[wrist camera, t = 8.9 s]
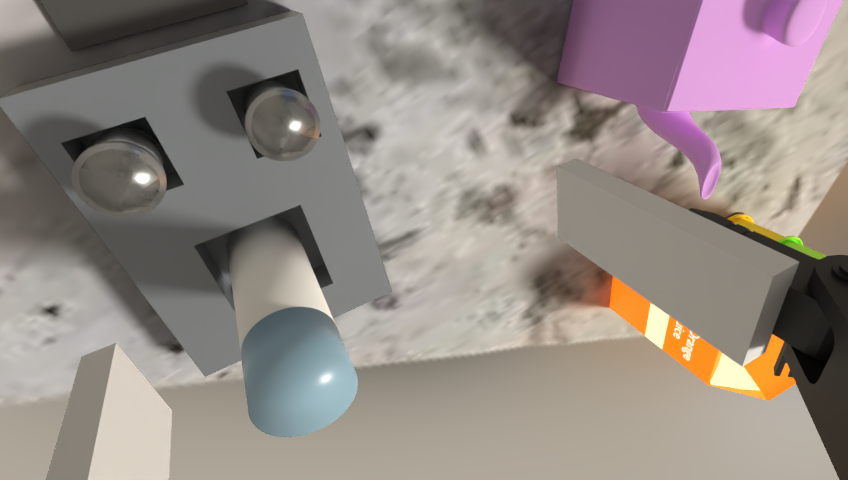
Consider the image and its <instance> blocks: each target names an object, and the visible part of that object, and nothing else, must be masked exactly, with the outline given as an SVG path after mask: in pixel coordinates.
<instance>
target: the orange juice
mask: <svg viewBox="0 0 848 480" xmlns="http://www.w3.org/2000/svg"><path fill="white" fill-rule="evenodd" d="M610 308H611V309H612V310H613V311H615V312H616V313H617V314H618V315H620V316H621V317H622V318H623V319H625V320H626V321H627V322H629V323H630V324H631V325H632V326H634V327H635V328H636V329H638V330H639V331H640V332H641V333H643V334H644V335H645V336H646V337H647V338H648V339H649V340H651V341H652V342H653V343H655V344H656V345H657V346H658V347H660V348H661V349H663V350H664V351H666V352H667V353H668V354H669V355H671V356H672V357H673V358H675V359H676V360H677V361H678V362H680V363H681V364H682V365H683V366H685V367H686V368H687V369H688V370H690V371H691V372H692V373H694V374H695V375H696V376H697V377H699V378H700V379H701V380H703V381H704V382H705V383H706V384H708V385H710V386H714V387H719V388H722V389H726V390H730V391H734V392H738V393H742V394H745V395H750V396H753V397H757V398H761V399H765V400H770V399H772V398H774V397H775V396H777V395H778V394H780V393H782V392H783V391H785V390H786V389H788V388H789V387H791V386H793V385H794V384H796V382H795V380H794V378H792V377H788V373H789V371H790V369H789V367H788V365H787V363H785V366H784V368H783V370H782V373H781V375H780V376H774V370H773V368H774V365H775V363H776V360H777V358H778V355H779V353H780V350H781V348H782V346H783V343H784V341H783V340H781V339H780V338H778V337H776V336H775V335H773V334H772V336H771V339H770V342H769V344H768V347H767V350H766V352H765V353H764V354H762V355H761V356H759V357H758V358H756V359H754V360H753V361H751V362H749V363H748V364H746V365H745V366H743V367H742V366H740V365H739V364H737V363H736V362H734V361H733V360H732V359H730V358H729V357H727V356H726V355H724V354H723V353H722V352H720V351H719V350H717V349H716V348H714V347H713V346H712V345H710V344H709V343H707V342H706V341H705V340H703V339H702V338H700V337H699V336H697V335H696V334H695V333H693V332H692V331H690V330H689V329H687V328H686V327H685V326H683V325H682V324H680V323H679V322H677V321H676V320H675V319H673V318H672V317H670V316H669V315H668V314H666V313H665V312H663V311H662V310H660V309H659V308H658V307H656V306H655V305H653V304H652V303H650V302H649V301H648V300H646V299H645V298H643V297H642V296H640V295H639V294H638V293H636V292H635V291H633V290H632V289H631V288H629V287H628V286H626V285H625V284H623V283H622V282H621V281H619V280H618V279H616V278H615V277H613V281H612V290H611V299H610Z"/></svg>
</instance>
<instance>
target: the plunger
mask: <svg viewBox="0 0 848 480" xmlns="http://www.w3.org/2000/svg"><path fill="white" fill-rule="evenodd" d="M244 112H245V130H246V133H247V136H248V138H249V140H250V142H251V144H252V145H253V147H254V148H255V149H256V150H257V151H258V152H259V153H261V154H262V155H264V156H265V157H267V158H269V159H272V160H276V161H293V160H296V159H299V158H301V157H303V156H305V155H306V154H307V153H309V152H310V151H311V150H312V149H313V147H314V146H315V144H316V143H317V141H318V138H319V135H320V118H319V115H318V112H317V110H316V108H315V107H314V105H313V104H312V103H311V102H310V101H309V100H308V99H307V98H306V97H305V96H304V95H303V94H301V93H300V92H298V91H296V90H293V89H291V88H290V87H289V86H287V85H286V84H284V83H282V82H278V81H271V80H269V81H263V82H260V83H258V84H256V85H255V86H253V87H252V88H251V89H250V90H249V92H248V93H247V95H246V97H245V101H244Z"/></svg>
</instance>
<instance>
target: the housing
mask: <svg viewBox="0 0 848 480" xmlns="http://www.w3.org/2000/svg"><path fill="white" fill-rule="evenodd" d="M269 80H271V81H278V82H282V83H284V84H286V85H287V86H289V87H290V88H291V89H293V90H296V91H298V92H300V93H301V94H303V95H304V96H305V97H306V98H307V99H308V100H309V101H310V102H311V103H312V104H313V105H314V107H315V108H316V110H317V112H318V115H319V118H320V135H319V138H318V141H317V143H316V144H315V146H314V147H313V149H312V150H311V151H310V152H309V153H307V154H306V155H305V156H303V157H301V158H299V159H296V160H293V161H276V160H272V159H269V158H267V157H265V156H264V155H262V154H261V153H259V152H258V151H257V150H256V149H255V148H254V147H253V145H252V144H251V142H250V140H249V138H248V136H247V133H246V130H245V112H244V101H245V97H246V95H247V93H248V92H249V90H250V89H251V88H252V87H253V86H255V85H256V84H258V83H260V82H263V81H269ZM0 107H1V108H2V110H3V111H4V112H5V113H6V115H7V116H8V117H9V119H10V120H11V121H12V123H13V124H14V125H15V127H16V128H17V129H18V131H19V132H20V133H21V135H22V136H23V137H24V139H25V140H26V141H27V143H28V144H29V145H30V146H31V148H32V149H33V150H34V152H35V153H36V154H37V156H38V157H39V158H40V160H41V161H42V162H43V164H44V165H45V166H46V168H47V169H48V170H49V172H50V173H51V174H52V175H53V177H54V178H55V179H56V181H57V182H58V183H59V185H60V186H61V187H62V189H63V190H64V191H65V193H66V194H67V195H68V197H69V198H70V199H71V201H72V202H73V203H74V204H75V206H76V207H77V208H78V210H79V211H80V212H81V214H82V215H83V216H84V218H85V219H86V220H87V222H88V223H89V224H90V226H91V227H92V228H93V230H94V231H95V232H96V233H97V235H98V236H99V237H100V239H101V240H102V241H103V243H104V244H105V245H106V247H107V248H108V249H109V251H110V252H111V253H112V255H113V256H114V257H115V259H116V260H117V261H118V262H119V264H120V265H121V266H122V268H123V269H124V270H125V272H126V273H127V274H128V276H129V277H130V278H131V280H132V281H133V282H134V284H135V285H136V286H137V288H138V289H139V290H140V291H141V293H142V294H143V295H144V297H145V298H146V299H147V301H148V302H149V303H150V305H151V306H152V307H153V309H154V310H155V311H156V313H157V314H158V315H159V317H160V318H161V319H162V321H163V322H164V323H165V324H166V326H167V327H168V328H169V330H170V331H171V332H172V334H173V335H174V336H175V338H176V339H177V340H178V342H179V343H180V344H181V346H182V347H183V348H184V350H185V351H186V352H187V353H188V355H189V356H190V357H191V359H192V360H193V361H194V363H195V364H196V365H197V367H198V368H199V369H200V371H201V372H202V373H203V375H204V376H208V375H210V374H212V373H214V372H216V371H219V370H221V369H223V368H225V367H227V366H229V365H232V364H234V363H236V362H238V361H240V360H242V359H241V351H240V344H239V336H238V329H237V321H236V314H235V306H234V299H233V291H232V283H231V276H230V268H229V261H228V253H227V243H228V239H229V237H230V235H231V233H232V232H233V231H234V230H236V229H239V228H242V227H244V226H247V225H249V224H252V223H255V222H257V221H260V220H262V219H265V218H268V217H270V216H275V217H279V218H281V219H284V220H285V221H287V222H288V223H290V224H291V225H292V226H293V227H294V228H295V230H296V232H297V233H298V236H299V238H300V240H301V243H302V245H303V248H304V250H305V252H306V255H307V257H308V260H309V262H310V264H311V267H312V269H313V272H314V274H315V276H316V279H317V281H318V284H319V286H320V288H321V291H322V293H323V296H324V298H325V300H326V303H327V305H328V307H329V310H330V312H331V315H332V317H333V318H335V317H337V316H339V315H341V314H343V313H345V312H348V311H350V310H352V309H354V308H356V307H359V306H361V305H363V304H365V303H367V302H370V301H372V300H374V299H376V298H378V297H380V296H383V295H385V294H387V293H389V292H391V291H392V289H391V286H390V283H389V280H388V277H387V274H386V271H385V268H384V265H383V261H382V258H381V255H380V252H379V249H378V246H377V243H376V240H375V237H374V234H373V230H372V227H371V224H370V221H369V218H368V215H367V212H366V209H365V206H364V203H363V200H362V196H361V193H360V190H359V187H358V184H357V181H356V178H355V175H354V172H353V169H352V165H351V162H350V159H349V156H348V153H347V150H346V147H345V144H344V141H343V138H342V134H341V131H340V128H339V125H338V122H337V119H336V116H335V113H334V110H333V107H332V104H331V100H330V97H329V94H328V91H327V88H326V85H325V82H324V79H323V76H322V73H321V69H320V66H319V63H318V60H317V57H316V54H315V51H314V48H313V45H312V42H311V39H310V35H309V32H308V29H307V26H306V23H305V20H304V17H303V14H302V13H299V12H296V11H292V10H291V11H288V12H284V13H280V14H277V15H273V16H270V17H266V18H262V19H259V20H255V21H252V22H248V23H244V24H241V25H237V26H234V27H230V28H226V29H223V30H219V31H215V32H212V33H208V34H205V35H201V36H197V37H194V38H190V39H187V40H183V41H179V42H176V43H172V44H169V45H165V46H161V47H158V48H154V49H151V50H147V51H143V52H140V53H136V54H133V55H129V56H125V57H122V58H118V59H115V60H111V61H107V62H104V63H100V64H96V65H93V66H89V67H86V68H82V69H78V70H75V71H71V72H68V73H64V74H60V75H57V76H53V77H50V78H46V79H42V80H39V81H35V82H32V83H28V84H24V85H21V86H17V87H15V88H14V89H12V90H10V91H9V92H7V93H6V94H4V95H2V96H1V97H0ZM116 127H132V128H136V129H139V130H142V131H144V132H146V133H147V134H149V135H150V136H152V137H153V138H154V139H155V140H156V141H157V142H158V144H159V145H160V147H161V149H162V151H163V155H164V164H163V168H164V170H165V173H166V178H167V186H166V192H165V195H164V197H163V199H162V201H161V202H160V204H159V205H158V206H157V207H156V208H154V209H153V210H152V211H150V212H148V213H146V214H144V215H141V216H137V217H132V218H117V217H111V216H107V215H104V214H101V213H99V212H97V211H95V210H93V209H92V208H90V207H89V206H87V205H86V204H85V203H84V202H83V201H82V200H81V199H80V198H79V197H78V195H77V193H76V192H75V190H74V188H73V184H72V179H71V174H72V168H73V166H74V163H75V161H76V160H77V158H78V157H79V155H80V154H81V153H82V152H83V151H84V150H86V149H87V148H88V147H90V146H92V145H94V144H95V142H96V140H97V139H98V137H99V136H100V135H101V134H103V133H104V132H105V131H107V130H110V129H112V128H116Z"/></svg>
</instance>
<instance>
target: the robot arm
mask: <svg viewBox="0 0 848 480" xmlns="http://www.w3.org/2000/svg"><path fill="white" fill-rule="evenodd" d="M557 206H558V238H559V239H561V240H562V241H564V242H565V243H566V244H568V245H569V246H571V247H572V248H574V249H575V250H576V251H578V252H579V253H581V254H582V255H584V256H585V257H586V258H588V259H589V260H591V261H592V262H594V263H595V264H596V265H598V266H599V267H601V268H602V269H603V270H605V271H606V272H608V273H609V274H611V275H612V276H613V277H615V278H616V279H618V280H619V281H621V282H622V283H623V284H625V285H626V286H628V287H629V288H631V289H632V290H633V291H635V292H636V293H638V294H639V295H640V296H642V297H643V298H645V299H646V300H648V301H649V302H650V303H652V304H653V305H655V306H656V307H658V308H659V309H660V310H662V311H663V312H665V313H666V314H668V315H669V316H670V317H672V318H673V319H675V320H676V321H677V322H679V323H680V324H682V325H683V326H685V327H686V328H687V329H689V330H690V331H692V332H693V333H695V334H696V335H697V336H699V337H700V338H702V339H703V340H705V341H706V342H707V343H709V344H710V345H712V346H713V347H714V348H716V349H717V350H719V351H720V352H722V353H723V354H724V355H726V356H727V357H729V358H730V359H732V360H733V361H734V362H736V363H737V364H739V365H740V366H742V367H743V366H745V365H746V364H748V363H749V362H751V361H753V360H754V359H756V358H758V357H759V356H761V355H762V354H764V353H765V352H766V350H767V347H768V344H769V342H770V339H771V336H772V334H773V335H775V336H776V337H778V338H780V339H781V340H783V341H784V343H783V346H782V348H781V350H780V353H779V355H778V358H777V360H776V363H775V365H774V368H773V370H774V376H780V375H781V373H782V370H783V368H784V366H785V363H787V365H788V367H789V369H790V371H789V373H788V377H792V378H794V380H795V382H796V384H797V386H798V389H799V391H800V393H801V395H802V398H803V400H804V402H805V404H806V406H807V409H808V411H809V413H810V415H811V417H812V420H813V422H814V424H815V426H816V429H817V431H818V433H819V435H820V437H821V440H822V442H823V444H824V446H825V448H826V451H827V453H828V455H829V457H830V459H831V462H832V464H833V466H834V468H835V471H836V472H837V475H838V477H839V479H840V480H848V256H846V255H834V256H827V257H824V258H822V259H816V258H813V257H811V256H809V255H807V254H804V253H802V252H800V251H798V250H795V249H793V248H791V247H789V246H786V245H784V244H782V243H780V242H777V241H775V240H773V239H771V238H768V237H766V236H764V235H762V234H759V233H757V232H755V231H753V232H751V231H750V229H748V228H746V227H744V226H742V225H739V224H736V225H735V224H734V222H733V221H730V220H728V219H726V218H724V217H721V216H719V215H717V214H715V213H711V212H706V211H702V210H697V209H693V208H691V209H689V210H687V209H685V208H683V207H680V206H678V205H676V204H674V203H672V202H670V201H667V200H665V199H663V198H661V197H659V196H657V195H654V194H652V193H650V192H648V191H646V190H644V189H642V188H639V187H637V186H635V185H633V184H631V183H629V182H626V181H624V180H622V179H620V178H618V177H616V176H614V175H611V174H609V173H607V172H605V171H603V170H601V169H598V168H596V167H594V166H592V165H590V164H588V163H585V162H583V161H581V160H579V159H574V160H572V161H569V162H567V163H564V164H562V165H559V166H557ZM171 420H172V410H171V409H170V408H169V407H168V405H167V404H166V403H165V402H164V401H163V399H162V398H161V397H160V396H159V395H158V393H157V392H156V391H155V390H154V389H153V387H152V386H151V385H150V384H149V382H148V381H147V380H146V379H145V378H144V376H143V375H142V374H141V373H140V372H139V370H138V369H137V368H136V367H135V366H134V364H133V363H132V362H131V361H130V360H129V358H128V357H127V356H126V355H125V354H124V352H123V351H122V350H121V349H120V348H119V346H118V345H117V344H116V343H115V344H112V345H110V346H107V347H105V348H102V349H100V350H97V351H95V352H92V353H90V354H87V355H85V356H82V357H81V360H80V364H79V367H78V371H77V374H76V377H75V381H74V384H73V388H72V391H71V395H70V398H69V402H68V405H67V409H66V412H65V415H64V419H63V422H62V426H61V430H60V433H59V436H58V440H57V443H56V447H55V450H54V454H53V457H52V460H51V464H50V467H49V471H48V474H47V478H46V480H169V468H170V445H171V422H172V421H171Z"/></svg>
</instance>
